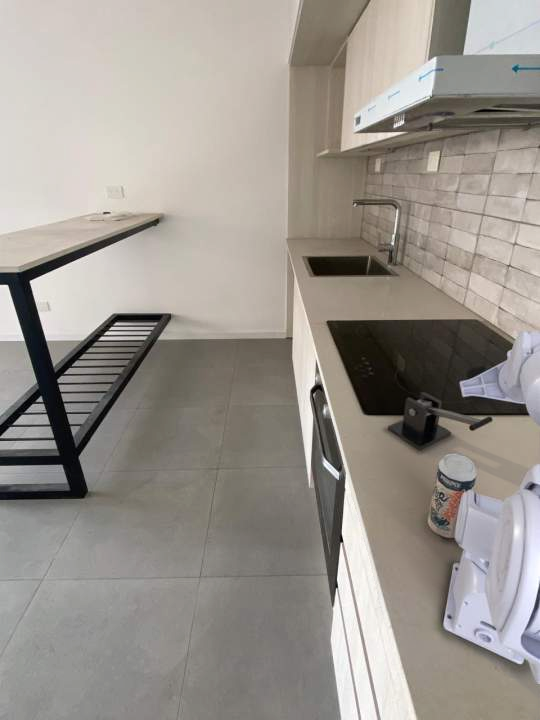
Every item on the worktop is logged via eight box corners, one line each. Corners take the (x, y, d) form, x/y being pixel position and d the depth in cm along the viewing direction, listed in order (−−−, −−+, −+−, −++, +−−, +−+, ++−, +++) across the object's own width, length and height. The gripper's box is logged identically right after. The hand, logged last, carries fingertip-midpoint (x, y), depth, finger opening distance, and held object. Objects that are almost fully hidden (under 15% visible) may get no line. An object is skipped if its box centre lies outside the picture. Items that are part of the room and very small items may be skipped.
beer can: (420, 520, 60) (431, 457, 55) (444, 510, 61) (457, 448, 56) (444, 545, 56) (459, 479, 50) (469, 533, 57) (486, 468, 52)
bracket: (450, 436, 78) (457, 402, 75) (418, 451, 74) (424, 416, 71) (418, 417, 84) (423, 385, 81) (387, 430, 80) (391, 397, 77)
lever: (493, 426, 67) (492, 413, 67) (474, 435, 65) (473, 422, 64) (426, 408, 79) (425, 397, 79) (408, 415, 77) (407, 404, 77)
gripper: (596, 328, 44) (562, 350, 56) (456, 354, 49) (452, 368, 62) (616, 390, 43) (576, 399, 55) (469, 410, 48) (462, 413, 60)
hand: (511, 386), depth 58 cm, fingers open, 7 cm apart
